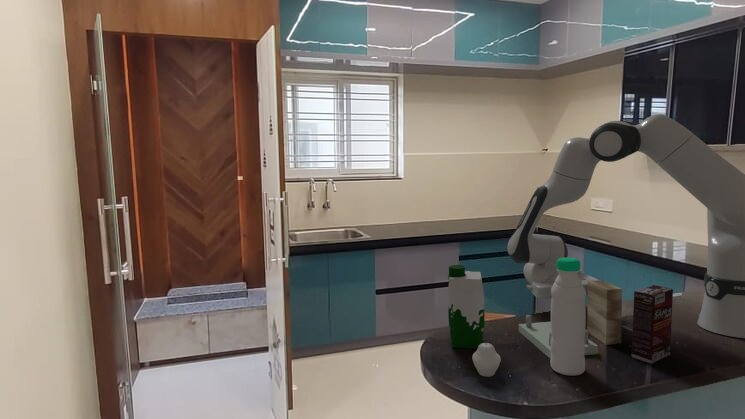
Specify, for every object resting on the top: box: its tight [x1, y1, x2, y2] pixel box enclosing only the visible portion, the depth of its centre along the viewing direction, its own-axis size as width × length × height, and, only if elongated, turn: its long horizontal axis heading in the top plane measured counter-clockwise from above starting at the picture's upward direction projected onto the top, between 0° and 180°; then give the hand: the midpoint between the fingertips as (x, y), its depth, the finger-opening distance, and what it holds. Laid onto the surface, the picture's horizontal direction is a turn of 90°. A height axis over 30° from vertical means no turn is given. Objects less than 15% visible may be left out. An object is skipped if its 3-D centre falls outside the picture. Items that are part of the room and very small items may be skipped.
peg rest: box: [518, 314, 599, 359], centre depth 115 cm, size 12×17×5 cm
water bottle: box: [549, 257, 587, 377], centre depth 99 cm, size 7×7×25 cm
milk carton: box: [447, 264, 485, 350], centre depth 116 cm, size 9×9×20 cm
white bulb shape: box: [471, 342, 502, 378], centre depth 100 cm, size 6×6×7 cm
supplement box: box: [631, 284, 674, 365], centre depth 104 cm, size 9×5×16 cm, turn 122°
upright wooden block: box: [586, 279, 623, 346], centre depth 116 cm, size 4×8×14 cm, turn 6°
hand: (581, 295), depth 126 cm, fingers open, 8 cm apart
